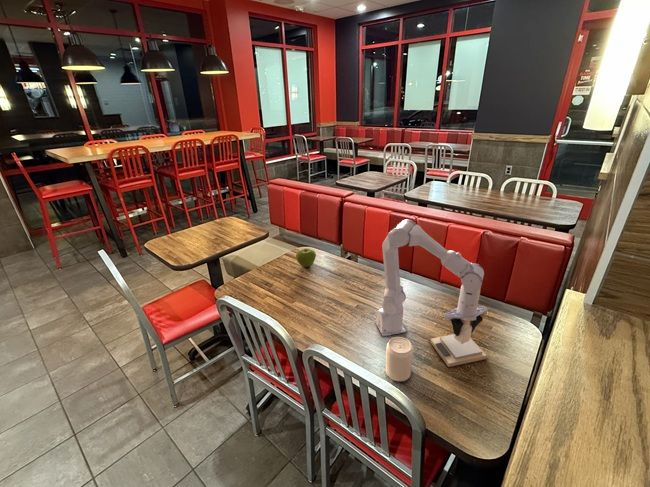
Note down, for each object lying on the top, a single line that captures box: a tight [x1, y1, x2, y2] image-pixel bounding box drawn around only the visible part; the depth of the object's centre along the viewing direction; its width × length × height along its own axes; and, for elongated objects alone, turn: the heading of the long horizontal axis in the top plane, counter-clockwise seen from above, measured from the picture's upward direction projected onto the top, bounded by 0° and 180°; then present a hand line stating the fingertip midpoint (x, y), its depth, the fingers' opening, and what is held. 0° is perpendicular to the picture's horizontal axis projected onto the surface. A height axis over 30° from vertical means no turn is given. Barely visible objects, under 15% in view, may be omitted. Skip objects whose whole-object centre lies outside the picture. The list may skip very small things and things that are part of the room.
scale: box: [429, 333, 488, 368], centre depth 109 cm, size 14×12×3 cm
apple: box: [295, 247, 317, 268], centre depth 168 cm, size 11×10×10 cm
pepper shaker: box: [453, 319, 472, 344], centre depth 106 cm, size 4×4×10 cm
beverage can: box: [385, 336, 414, 382], centre depth 99 cm, size 8×8×12 cm
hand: (462, 333), depth 106 cm, fingers closed on pepper shaker, 4 cm apart
